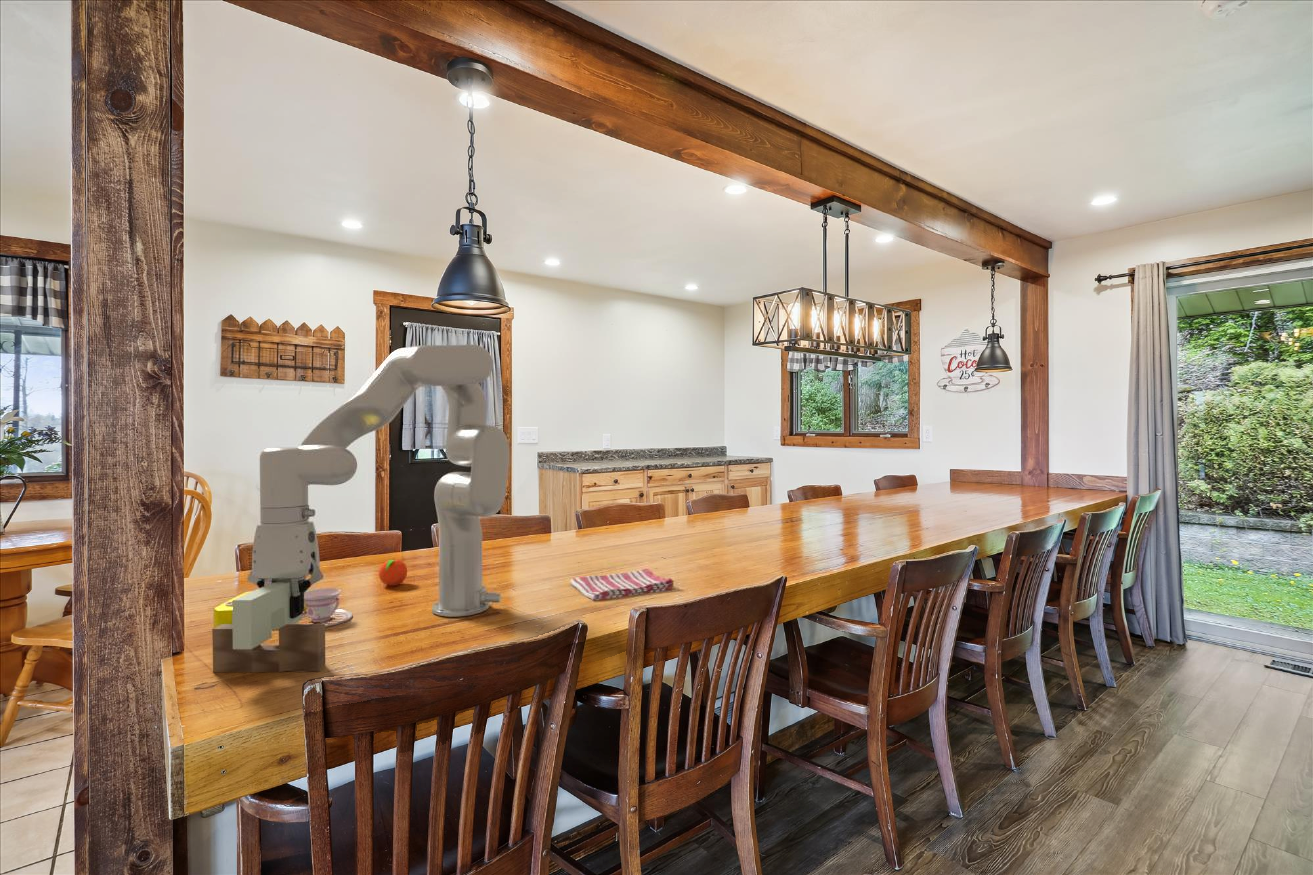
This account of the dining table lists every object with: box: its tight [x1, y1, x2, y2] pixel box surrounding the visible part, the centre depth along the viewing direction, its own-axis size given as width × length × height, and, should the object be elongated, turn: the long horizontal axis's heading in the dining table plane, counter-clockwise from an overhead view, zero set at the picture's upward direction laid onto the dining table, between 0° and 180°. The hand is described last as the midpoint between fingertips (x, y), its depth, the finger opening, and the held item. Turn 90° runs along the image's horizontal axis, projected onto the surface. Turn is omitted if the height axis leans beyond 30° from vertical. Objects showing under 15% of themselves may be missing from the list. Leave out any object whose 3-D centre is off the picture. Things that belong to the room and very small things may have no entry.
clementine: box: [378, 558, 408, 587], centre depth 166 cm, size 8×7×7 cm
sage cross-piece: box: [232, 579, 303, 649], centre depth 110 cm, size 3×15×8 cm, turn 1°
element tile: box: [212, 588, 309, 628], centre depth 140 cm, size 15×15×5 cm
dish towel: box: [569, 568, 675, 602], centre depth 165 cm, size 17×23×4 cm
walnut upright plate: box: [211, 624, 326, 673], centre depth 110 cm, size 18×2×8 cm, turn 91°
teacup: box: [302, 587, 353, 628], centre depth 138 cm, size 12×12×6 cm
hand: (285, 615), depth 115 cm, fingers closed on sage cross-piece, 3 cm apart
